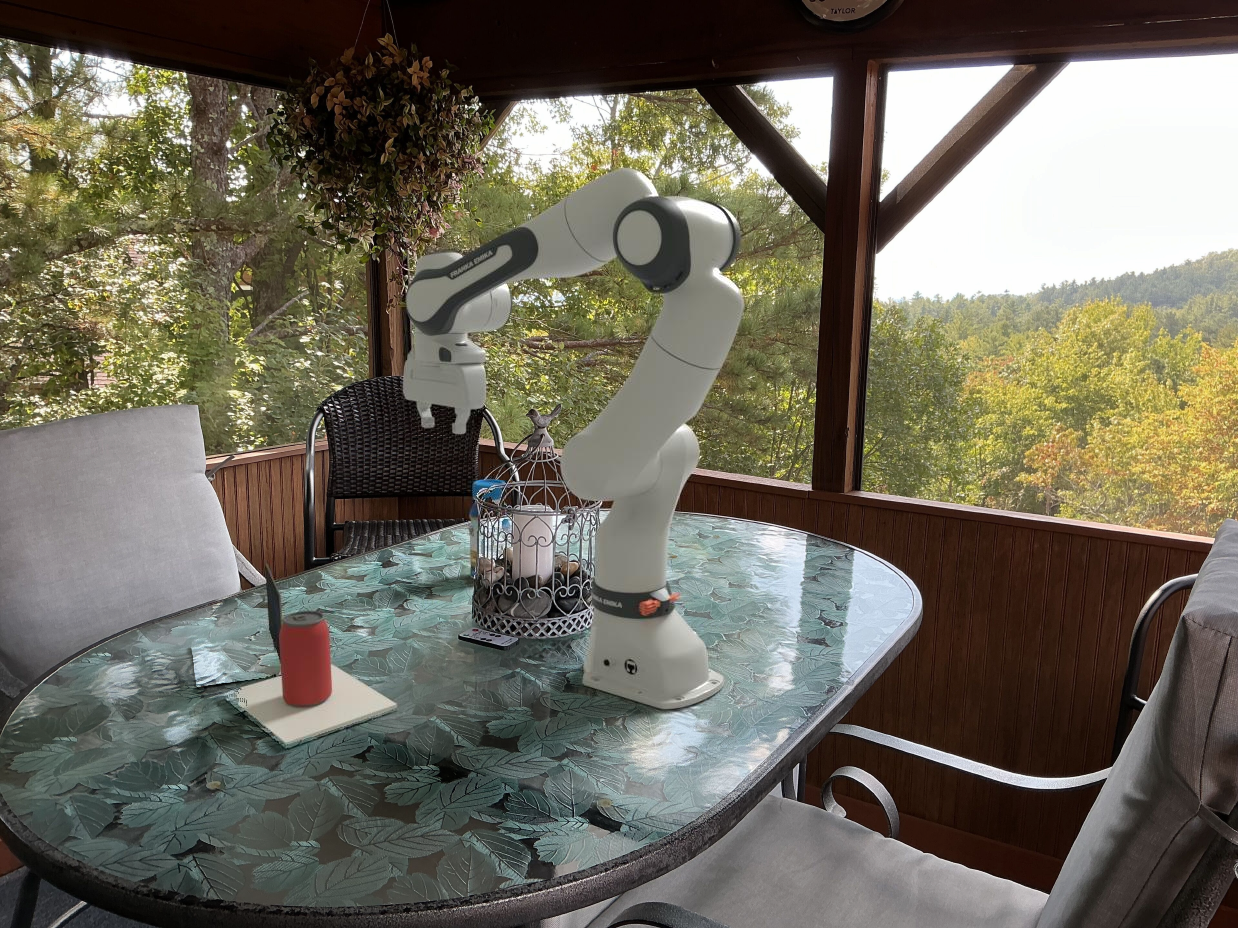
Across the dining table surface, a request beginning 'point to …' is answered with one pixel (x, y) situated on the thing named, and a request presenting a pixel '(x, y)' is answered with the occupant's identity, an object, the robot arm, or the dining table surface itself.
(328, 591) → the dining table surface
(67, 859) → the dining table surface
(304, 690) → the beer can
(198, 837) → the dining table surface
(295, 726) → the ceramic tile
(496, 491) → the beverage bottle
